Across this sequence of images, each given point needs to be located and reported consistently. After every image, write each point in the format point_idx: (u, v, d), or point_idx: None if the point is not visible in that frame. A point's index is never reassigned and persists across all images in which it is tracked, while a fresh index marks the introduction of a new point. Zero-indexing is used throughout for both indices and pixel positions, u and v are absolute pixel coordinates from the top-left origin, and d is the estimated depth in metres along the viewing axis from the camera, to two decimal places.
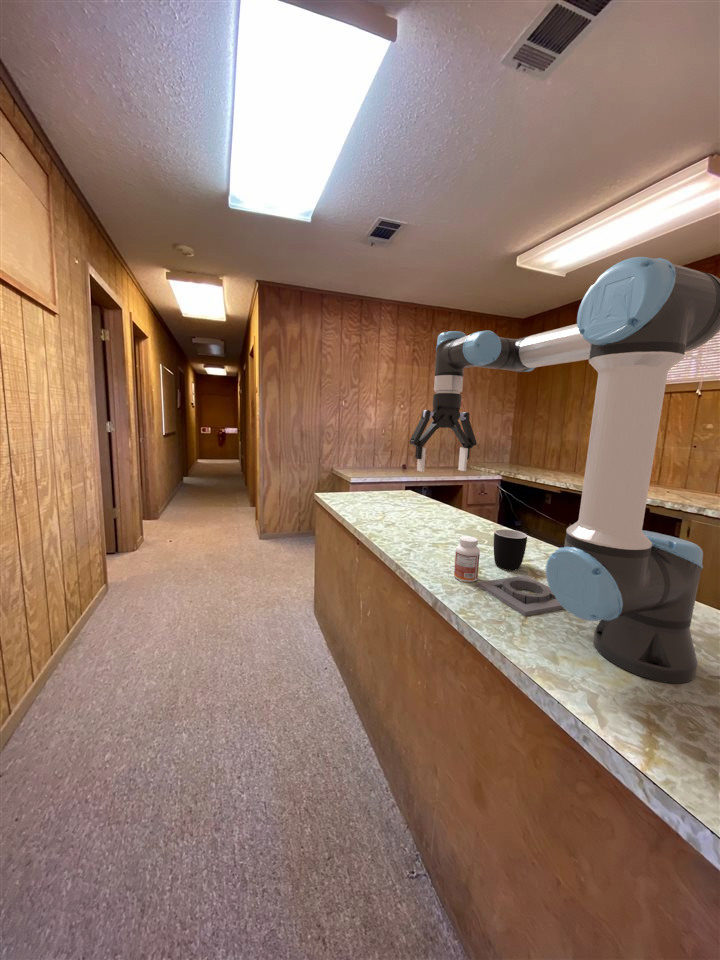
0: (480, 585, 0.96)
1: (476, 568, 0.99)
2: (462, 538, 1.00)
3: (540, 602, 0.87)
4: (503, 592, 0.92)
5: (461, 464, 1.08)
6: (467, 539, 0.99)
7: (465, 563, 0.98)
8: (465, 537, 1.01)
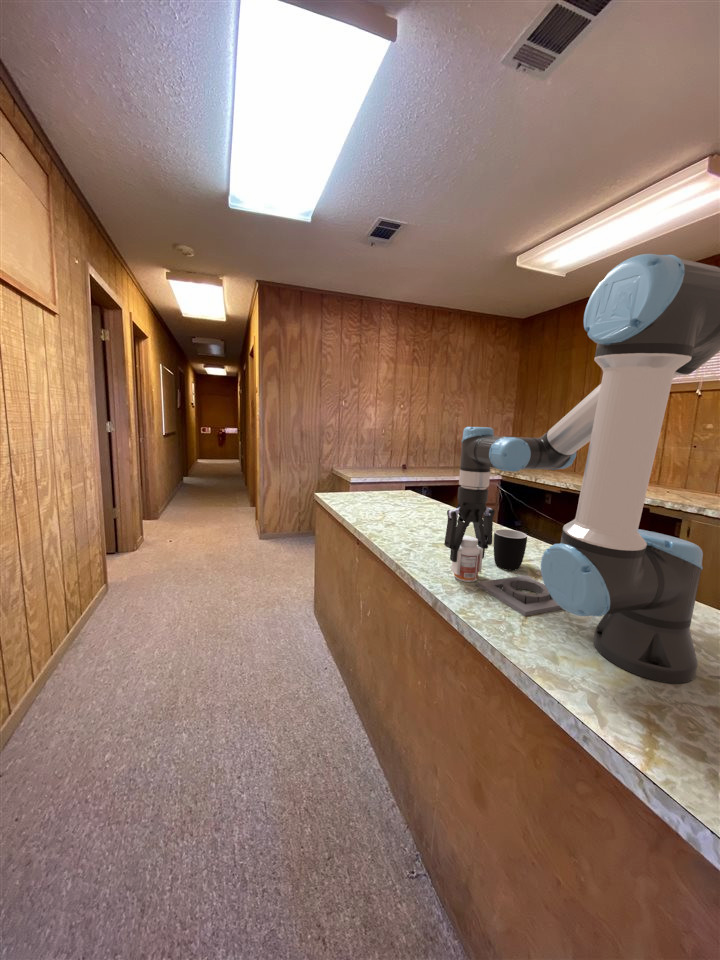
0: (480, 585, 0.96)
1: (476, 568, 0.99)
2: None
3: (540, 602, 0.87)
4: (503, 592, 0.92)
5: None
6: (467, 539, 0.99)
7: (466, 563, 0.98)
8: (465, 537, 1.01)
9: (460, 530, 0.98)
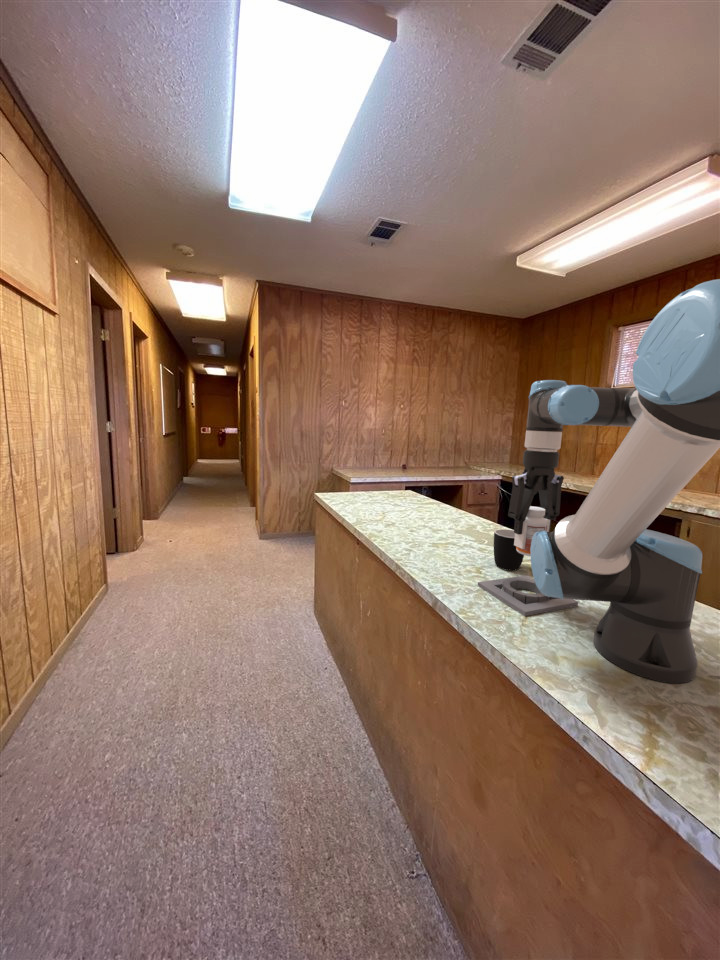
0: (480, 585, 0.96)
1: None
2: None
3: (540, 602, 0.87)
4: (503, 592, 0.92)
5: None
6: (533, 509, 0.89)
7: (532, 535, 0.88)
8: (530, 507, 0.91)
9: (527, 498, 0.87)
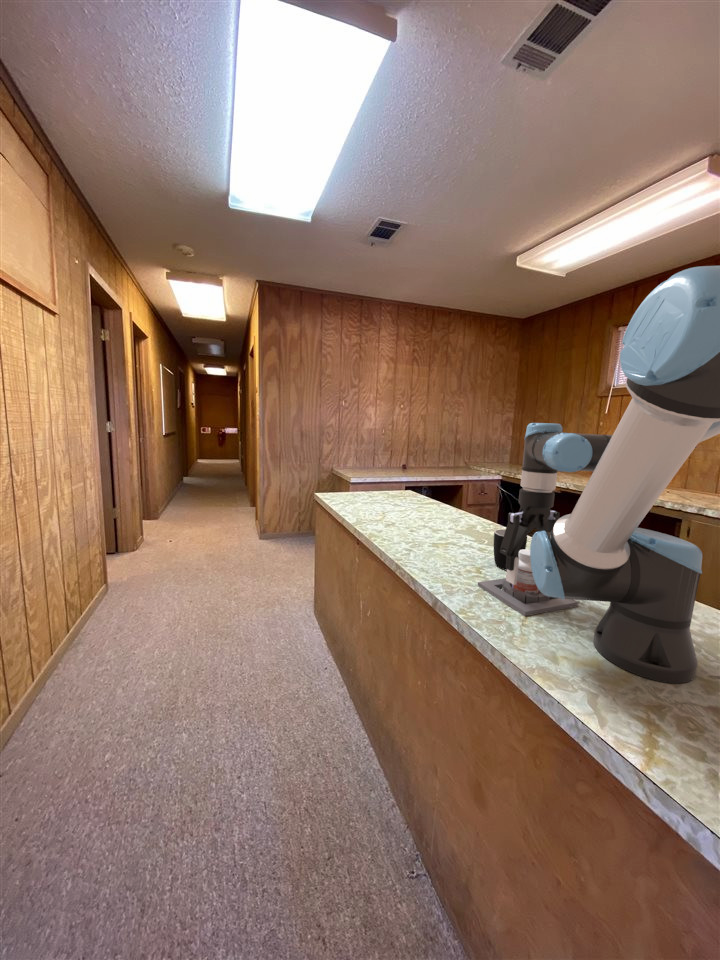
0: (480, 585, 0.96)
1: None
2: (522, 552, 0.91)
3: (540, 602, 0.87)
4: (503, 592, 0.92)
5: None
6: (528, 553, 0.90)
7: (527, 580, 0.89)
8: (525, 551, 0.92)
9: (520, 536, 0.88)
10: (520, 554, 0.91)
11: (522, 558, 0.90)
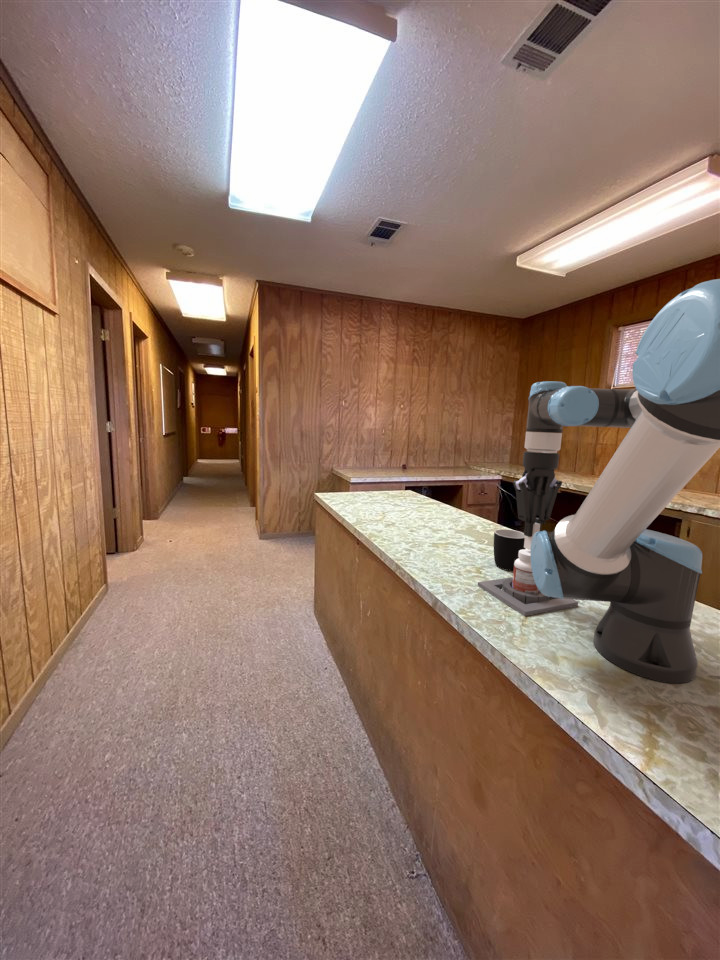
0: (480, 585, 0.96)
1: None
2: (522, 552, 0.91)
3: (540, 602, 0.87)
4: (503, 592, 0.92)
5: (531, 541, 0.91)
6: (528, 553, 0.90)
7: (527, 580, 0.89)
8: (524, 551, 0.92)
9: (532, 501, 0.88)
10: (520, 554, 0.91)
11: (522, 558, 0.90)
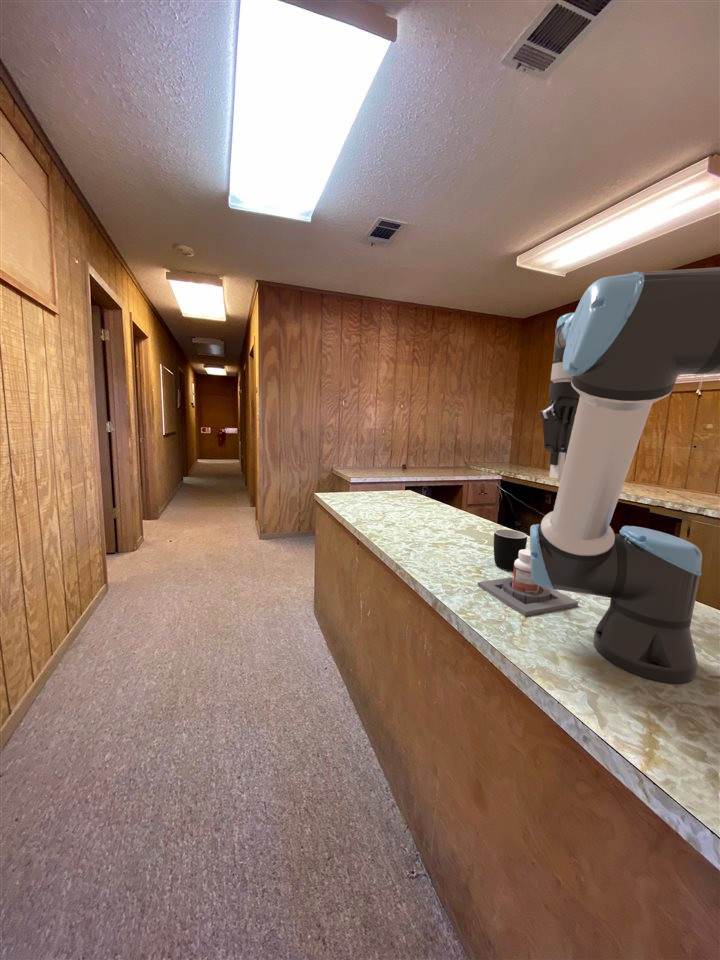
0: (480, 585, 0.96)
1: (538, 585, 0.90)
2: (522, 552, 0.91)
3: (540, 602, 0.87)
4: (503, 592, 0.92)
5: None
6: (528, 553, 0.90)
7: (527, 580, 0.89)
8: (525, 551, 0.92)
9: (558, 430, 0.93)
10: (520, 554, 0.91)
11: (522, 558, 0.90)
